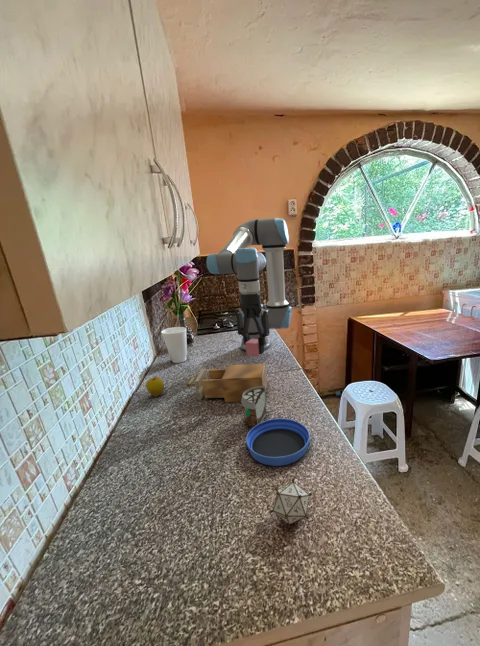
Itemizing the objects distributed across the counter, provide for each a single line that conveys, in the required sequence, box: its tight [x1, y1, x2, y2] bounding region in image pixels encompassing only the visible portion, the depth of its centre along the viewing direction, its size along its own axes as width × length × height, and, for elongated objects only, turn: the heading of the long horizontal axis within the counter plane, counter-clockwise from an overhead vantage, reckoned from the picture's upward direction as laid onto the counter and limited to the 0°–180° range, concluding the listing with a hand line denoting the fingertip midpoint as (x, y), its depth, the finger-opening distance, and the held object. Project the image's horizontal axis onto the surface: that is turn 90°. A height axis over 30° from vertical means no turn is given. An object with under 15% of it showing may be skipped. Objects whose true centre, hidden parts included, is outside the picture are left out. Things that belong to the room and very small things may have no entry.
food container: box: [240, 386, 267, 429], centre depth 101 cm, size 12×6×10 cm, turn 168°
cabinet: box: [222, 363, 268, 403], centre depth 119 cm, size 15×13×10 cm
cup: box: [161, 326, 188, 364], centre depth 155 cm, size 12×12×16 cm
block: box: [245, 339, 261, 357], centre depth 120 cm, size 5×5×5 cm
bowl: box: [245, 418, 311, 467], centre depth 89 cm, size 18×18×4 cm
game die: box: [268, 477, 314, 530], centre depth 65 cm, size 9×8×10 cm
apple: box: [145, 376, 165, 398], centre depth 121 cm, size 6×6×8 cm
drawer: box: [186, 368, 227, 401], centre depth 119 cm, size 18×11×8 cm, turn 89°
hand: (255, 352), depth 120 cm, fingers closed on block, 5 cm apart
